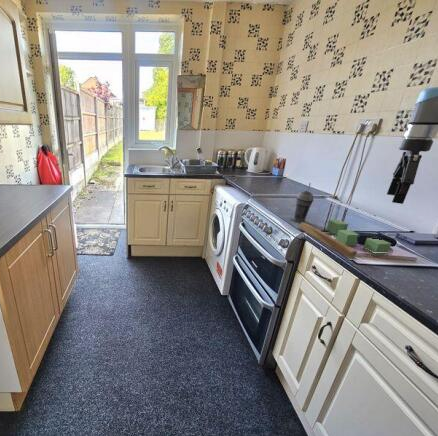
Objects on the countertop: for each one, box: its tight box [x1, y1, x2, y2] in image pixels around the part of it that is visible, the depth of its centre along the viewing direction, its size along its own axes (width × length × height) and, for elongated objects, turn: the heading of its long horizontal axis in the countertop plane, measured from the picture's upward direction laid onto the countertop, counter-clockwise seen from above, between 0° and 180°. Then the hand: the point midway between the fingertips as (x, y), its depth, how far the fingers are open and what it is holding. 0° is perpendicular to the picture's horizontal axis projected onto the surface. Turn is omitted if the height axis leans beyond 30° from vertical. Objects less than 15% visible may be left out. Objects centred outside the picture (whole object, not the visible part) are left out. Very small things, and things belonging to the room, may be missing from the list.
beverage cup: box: [293, 182, 314, 224], centre depth 121 cm, size 7×7×20 cm
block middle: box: [335, 229, 360, 247], centre depth 101 cm, size 5×5×5 cm
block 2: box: [362, 237, 392, 257], centre depth 94 cm, size 5×5×5 cm
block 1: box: [326, 219, 349, 235], centre depth 112 cm, size 5×5×5 cm
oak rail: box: [299, 221, 358, 260], centre depth 103 cm, size 2×28×3 cm, turn 5°
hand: (394, 198), depth 91 cm, fingers open, 13 cm apart
